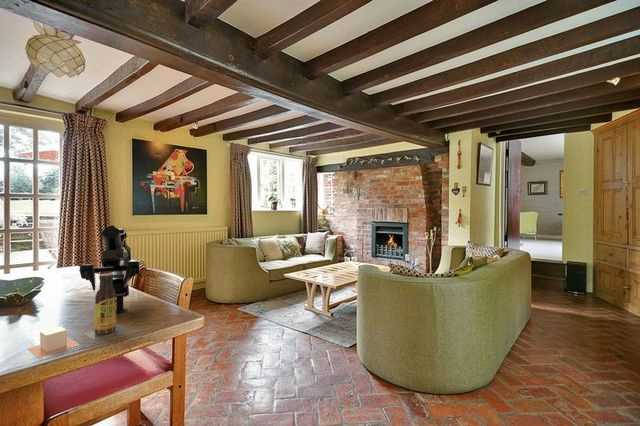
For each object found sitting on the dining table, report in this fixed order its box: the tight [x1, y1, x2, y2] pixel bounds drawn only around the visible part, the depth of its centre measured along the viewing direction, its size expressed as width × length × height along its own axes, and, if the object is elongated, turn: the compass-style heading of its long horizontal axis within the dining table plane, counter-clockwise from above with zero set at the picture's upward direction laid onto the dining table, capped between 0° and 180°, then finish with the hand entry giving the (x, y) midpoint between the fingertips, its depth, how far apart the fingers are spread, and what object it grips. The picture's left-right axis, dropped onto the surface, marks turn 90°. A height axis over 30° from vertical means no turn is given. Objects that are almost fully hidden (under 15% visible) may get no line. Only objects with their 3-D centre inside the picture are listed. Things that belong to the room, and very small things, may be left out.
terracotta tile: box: [26, 336, 81, 359], centre depth 95 cm, size 10×10×1 cm
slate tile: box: [82, 323, 130, 342], centre depth 106 cm, size 10×10×1 cm
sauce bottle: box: [93, 272, 117, 335], centre depth 106 cm, size 7×6×20 cm
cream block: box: [39, 325, 68, 352], centre depth 95 cm, size 5×5×5 cm
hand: (109, 288), depth 113 cm, fingers open, 9 cm apart
